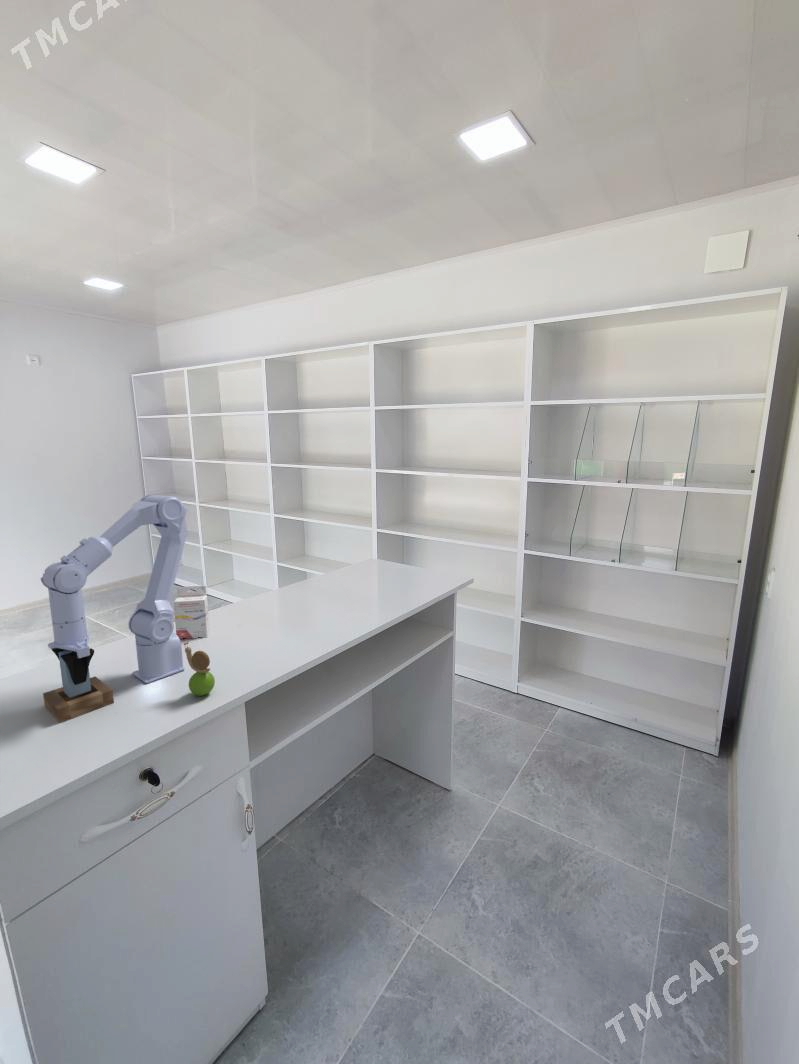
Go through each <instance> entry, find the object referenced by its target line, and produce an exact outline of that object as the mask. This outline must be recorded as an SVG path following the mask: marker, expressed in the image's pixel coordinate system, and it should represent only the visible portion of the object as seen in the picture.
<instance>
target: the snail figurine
mask: <svg viewBox="0 0 799 1064" xmlns="http://www.w3.org/2000/svg"><path fill="white" fill-rule="evenodd" d="M188 645H189V641H186V642H184V643H183V646H186V647H184V652H185V654H186V659H187V661H188V662H187V663H188V665H189V667H190V669H192V670H193V671H195V673H193V674H192V675H191V676H190V678H189V680H188V689H189V690H190V692H191V693H192V694H193V695H195V696H199V697H202V696H205V695H208V694H209V693H211V692H212V690H213V689H214V687H215V683H216V680H215V677H214V675H213V674H212V672H210V671H211V668H209V666H210V664H211V660H210V657H209V655H208V653H206V652H205V651H202V650H197V651H195V652H194V653H193V654H192V648H191V647H190V646H188Z"/></svg>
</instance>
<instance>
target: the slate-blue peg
mask: <svg viewBox="0 0 799 1064" xmlns="http://www.w3.org/2000/svg"><path fill="white" fill-rule="evenodd" d="M58 653H59V659H58V660H59V667H60V677H61V681H62V683H61V684H62V687H63V692H64V693H65V694H66V695H67V696H69V697H70V698H71V697H73V696H76V695H79V694H82V693H85V692H88V691H91V683H90V678H91V676H90V668H89V667H90V666H89V667H88V674H87V679H86V682H83V683H80V684H77V685H75V684H74V683H73V681H72V678H71V675H70V672H69V669H68V667H67V665H66V663H65V662H64V661H63V659H62V658H61V657H60V656H61V655H64V654H67V653H72V651H71V650H65V651H61V652H58Z"/></svg>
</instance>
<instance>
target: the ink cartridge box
mask: <svg viewBox="0 0 799 1064" xmlns="http://www.w3.org/2000/svg"><path fill="white" fill-rule="evenodd" d="M191 590H192V591H191ZM194 590H195V591H194ZM176 592H177V597H176V598H175V600H174V602H173V608H174V609H173V611H174V621H175V622H174V623H175V624H174V625H175V634H176V635H177V636H178V637H179V639H180V640H184V639H183V638H191V639H198V638H197V637H204V638H208V636H209V633H210V621H209V619H210V618H209V605H208V604H209V603H208V595H207V587H206V585H193V586H192V585H191V586H189V585H188V586H177V588H176Z"/></svg>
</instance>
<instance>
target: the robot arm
mask: <svg viewBox="0 0 799 1064" xmlns="http://www.w3.org/2000/svg"><path fill="white" fill-rule="evenodd" d="M187 511H188V509H187V508H186V506H185V505H184V503H183V502H182V501H181V500H180V499H179V497H176V496H171V495H168V496H167V495H166V496H165V495H156V494H150V493H149V494H146V495H144V496H142V497H141V499H140V500H138V501H136V502H134V503H133V504H132V506H131V508H130V509H129V510H127V512H126V513H124V514H123V515H121V517H120V518H119V519H117V521H115V522H114V523H113V524H112V525H111V526H110V527H109V528H108V529H107V530H105V531H104V532H103V533H102V534H101V535H100V536H90V537H88V538H82V539H81V540H80V541H79V544H80V545H79V546H77V547H76V548H75V549H73V550H72V551H71V552H70V553H69V554H68V555H62V556H61V557H60V558H59V559H60V561H59V562H54V563H51V564H49V565H48V566H47V567H46V568H44V571H43V572H44V573H42V577H40V581H41V584H42V585H43V586H44V587H46V588H47V592H48V598H49V600H48V601H49V609H50V610H49V611H50V616H51V624H52V632H53V639H54V641H53V642H49V643H47V647H48V649H50V650H51V651H52V652H53V653H54V654H55V656H56V657H57V659H58V660H59V653H58V652H61V651H65V650H71V651H72V653H67V654H64V655H61V656H60V657H61V658H62V659H63V661H64V662H65V663H66V665H67V667H68V669H69V672H70V675H71V678H72V681H73V683H74V684H75V685H77V684H80V683H83V682H86V679H87V674H88V667H90V663H91V660H92V659H93V657H94V655H95V649H93V648H91V647H90V645H89V641H90V637H89V634H88V629H87V621H86V613H85V606H84V605H85V604H84V596H83V590H82V589H83V588H84V587H85V585H86V582H87V580H88V579H87V578H88V576H90V575H91V574H92V573H93V572H94V571H95V570H96V569H98V568H99V567H100V566H101V565H102V564H104V563H105V562H106V561H107V560H108V559H109V558H111V556H112V555H113V547H115V546H116V545H118V544H119V543H121V541H123V540H124V539H126V538H127V537H128V536H129V535H131V534H132V533H134V531H135V532H136V530H137V529H139V528H140V527H141V526H146V525H153V526H154V528H155V530H157V531H158V533H159V534H160V539H159V540H160V541H159V544H158V548H157V552H156V555H155V559H154V563H153V567H152V571H151V574H150V577H149V582H148V586H147V589H146V592H145V597H144V598H143V599H142V600H141V601H140V602H139V603H137V605H136V608H135V610H134V611H133V612H134V613H132V614H131V615H130V617H129V620H128V629H129V631H130V633H132V634H134V637H135V647H136V659H137V665H138V667H137V668H138V669H137V670H135V671H132V672H131V673H132V675H133V676H135V677H136V678H137V679H138V680H140V681H142V682H143V683H144V684H148V683H152V682H154V681H157V680H160V679H163V678H166V677H169V676H171V675H174V674H178V673H180V672H182V671H185V669H186V668H185V667H184V660H183V649H182V648H183V647H182V643H181V639H179V637H178V636H177V635H176V632H173V631H174V628H175V624H174V623H175V622H174V616H175V610H174V609H173V607H172V605H171V603H170V600H171V597H172V594H173V589H174V586H175V583H176V582H175V581H176V578H177V574H178V569H179V566H180V562H181V559H182V554H183V551H184V547H185V543H186V539H187V536H188V529H187V522H186V515H187Z"/></svg>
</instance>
